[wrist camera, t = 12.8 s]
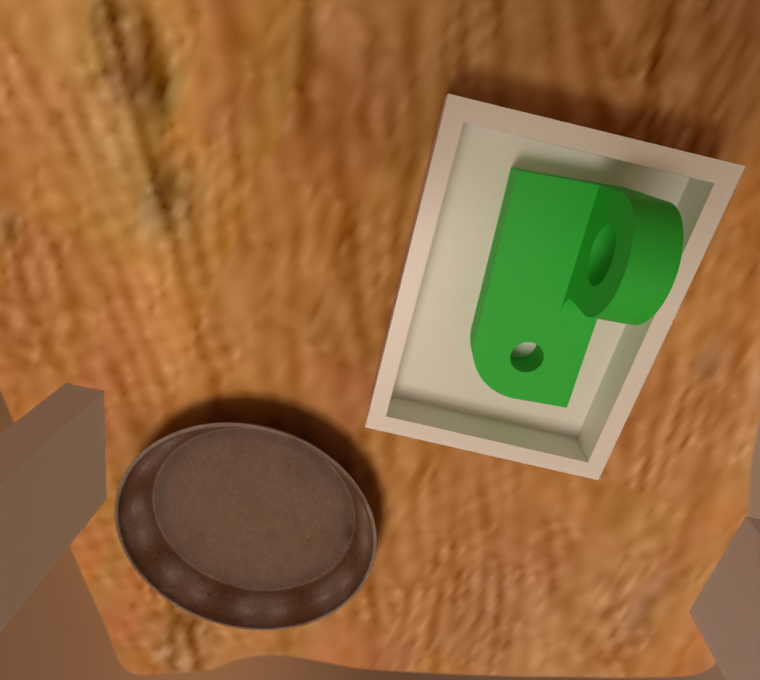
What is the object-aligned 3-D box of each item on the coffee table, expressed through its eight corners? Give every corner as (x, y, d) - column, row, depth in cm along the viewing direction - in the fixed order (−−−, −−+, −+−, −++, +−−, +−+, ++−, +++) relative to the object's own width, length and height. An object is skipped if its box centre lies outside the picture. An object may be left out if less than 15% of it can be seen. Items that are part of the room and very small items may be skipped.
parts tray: (444, 96, 27) (447, 93, 24) (707, 160, 28) (745, 166, 25) (370, 398, 34) (365, 427, 31) (581, 446, 35) (598, 480, 32)
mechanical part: (510, 167, 28) (544, 184, 20) (625, 187, 28) (701, 212, 20) (459, 374, 32) (472, 449, 25) (558, 391, 32) (599, 471, 25)
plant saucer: (431, 510, 38) (432, 541, 35) (276, 633, 43) (266, 668, 41) (232, 348, 34) (216, 368, 31) (90, 506, 40) (65, 535, 37)
